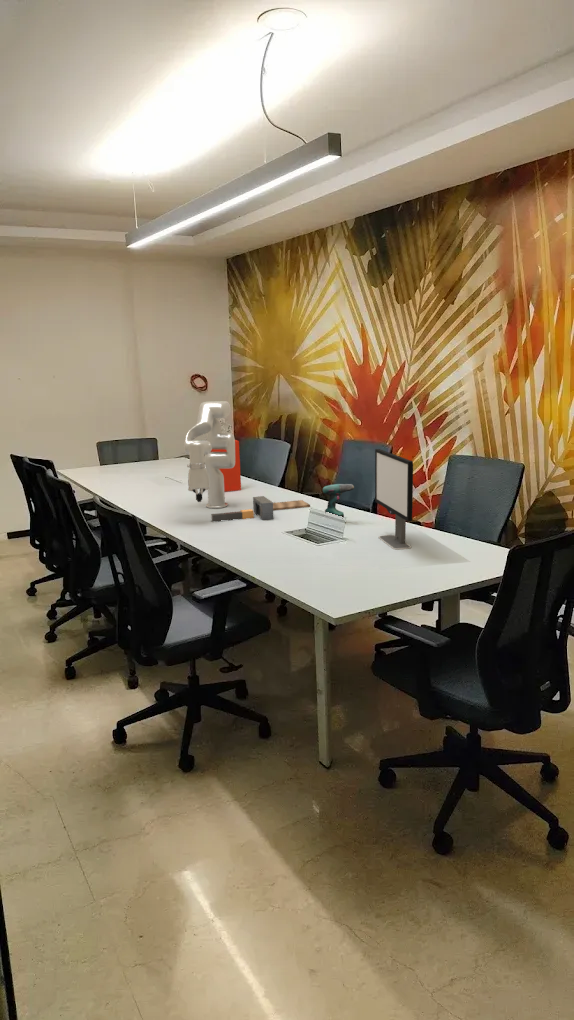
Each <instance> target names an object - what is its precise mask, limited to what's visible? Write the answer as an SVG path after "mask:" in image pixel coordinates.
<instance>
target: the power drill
mask: <svg viewBox="0 0 574 1020" xmlns="http://www.w3.org/2000/svg"><path fill="white" fill-rule="evenodd" d="M354 488H355V486H354V484H352V483H345V484H344V483H336V484H334V483H333V484H329V485H325V486H324V487H323V488H322V492H323V495H328V496H329V498H328V501H327V506H326V507H327V508H325V509H324V512H325V513H326V512H329V513H332V514H335V515H338V516H342V517H343V518H345V515H344V512H343V511H341V510H339V509H337V508H336V504H337V501H339V500H340V496H342V495H343V493H347V492H350V491H353V490H354Z"/></svg>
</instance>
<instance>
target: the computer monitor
mask: <svg viewBox="0 0 574 1020" xmlns="http://www.w3.org/2000/svg"><path fill="white" fill-rule="evenodd" d="M374 453H375V455H374V458H375V461H374V470H375V471H374V477H375V479H374V482H375V483H374V488H375V489H374V492H375V493H374V501H375V503H376V504H378V505H380V506H381V507H383V508H384V509H386V511H387V512H388V514H390V515H395V519H394V521H395V522H394V523H395V524H394V525H395V529H394V530H395V533H394V534H387V535H386V534H385V535H379V536H378V539H379V540H380V541H382V542H383V543H384V544H386V545H387V546H388V547H390V548H391V549H393V550H397V551H398V550H407V549H411V548H412V546H411V545H410V544H408V543H407V542H406V529H407V527H406V522H413V507H414V506H413V500H414V499H413V497H414V496H413V494H414V493H413V492H414V487H413V486H414V461H413V460H409V459H408V458H404V457H402V456H399V455H397V454H394V453H391V452H389V451H386V450H383V449H381V448H375V449H374Z"/></svg>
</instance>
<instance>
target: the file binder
mask: <svg viewBox="0 0 574 1020" xmlns="http://www.w3.org/2000/svg"><path fill="white" fill-rule="evenodd" d="M211 452H227V450H226V449H212V450H211ZM240 456H241V455H240V441H239V440H237V439H235V466H234V467H233V468H223V469H219V470H220V471H221V472H222V474H223V476H224V493H226V492H227V493H228V492H237V491H241V490H242V481H241V480H242V479H241V476H242V475H241V458H240Z"/></svg>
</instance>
